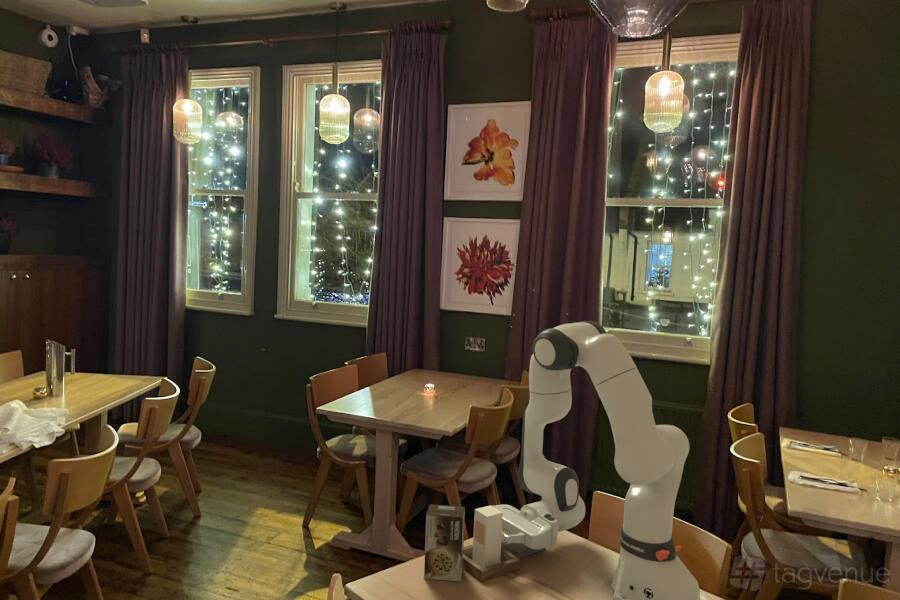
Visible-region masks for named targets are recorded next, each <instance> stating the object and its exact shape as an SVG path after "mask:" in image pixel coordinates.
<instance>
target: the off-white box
mask: <svg viewBox="0 0 900 600" xmlns="http://www.w3.org/2000/svg"><path fill="white" fill-rule="evenodd" d="M493 506H494V505H486V506H483V507H478V508H475V509H474V520H473V536H472V538H473V541H472V545H473V553H472V557H471V560H472V561H474V562H475V563H476V564H478V565H479V566H481V567H482V568H486V567H489V566H492V565H495V564H498V563H501V559H500V556H501V539H502V533H503V531H502V521H503V512H501V511H499V510H498V509H496V508H494V507H493Z"/></svg>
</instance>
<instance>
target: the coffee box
mask: <svg viewBox="0 0 900 600" xmlns="http://www.w3.org/2000/svg"><path fill="white" fill-rule="evenodd" d="M427 508H428V509H427V511H426V513H425V514H426V515H425V544H424V565H423V566H424V570H423V579H424V580H427V579H428V580H436V581H437V580H438V581H447V582H449V581H450V582H462V578H463V577H462V576H463V569H464V568H463V547H464V541H465V539H464V537H465V516H466V514H465V513H466V507H465V506H460V505H459V506H456V505H445V504H432V503H430V504H429V505H428V507H427Z"/></svg>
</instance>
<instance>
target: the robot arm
mask: <svg viewBox="0 0 900 600" xmlns="http://www.w3.org/2000/svg"><path fill="white" fill-rule="evenodd" d="M575 367H581V368H583V369H584V370H585V371H586V372H587V373H588V376H589V377H590V380H591V382H592V384H593V387H594V388H595V391H596V392H597V394H598V397H599V399H600V401H601V403H602V405H603V408H604V410H605V412H606V414H607V416H608V420H609V422H610V426H611V427H610V428H611V431H612V435H613V441H614V447H615V451H614V452H615V453H614V459H613V462H614V467H615V469H616V472H617V474H618V475H619V477H620V478H621V479H622V480H623V481H625V482H626V483H628V484H630V485H629V489H628V490H627V492H626V495H625V499H624V510H623V522H622V523H623V524H622V527H621V528H620V537H619V545H620V552H619V558H618V562H617V566H616V570H615V573H614V576H613V579H612V580H611V589H612V591H613V600H702V599H701V591H700V586H699V582H698V581H697V579H696V578H695V577H694V575H693V573H692V572H690V571H689V569H688V568H687V566H686V565H685V564H684V562H683V561H682V560H681V559H680V558H679V556H678V552H679V551H681V550H682V548H681V547H682V545H681V544H679V545H676V544H675V541H674V536H673V535H672V533H673V523H674V522H673V521H674V512H675V506H676V499H677V495H678V492H679V488H680V485H681V481H682V475H683V471H684V466H685V462H686V460H687V458H688V455H689V452H690V442H689V441H690V440H689V438H688V437H687V435H686V434H685V432H684V431H683V430H682V429H680V428H679V427H677V426H674V425H671V424H656V421H655V417H654V413H653V398H652V394H651V393H650V391H649V389H648V387H647V384H646V383H645V381H644V379H643V377H642V376H641V373H640V372H639V369H638V368H637V365H636V363H635V362H634V360H633V358H632V356H631V355H630V353H629V352H628V350H627V349H626V347H625V346H624V344H623V343H622V342H621V340H620V339H619V338H618V337H617V336H615V335H614V334H611V333H607V331H606V329H605V328H604V326H602V325H601V324H600V323H598V322H596V321H592V320H581V321H579V322H571V323H564V324H560V325H558V326H557V325H556V326H555V327H551V328H547V329H545V330H543V331H542V332H540V333H539V334H537V336H536V337H535V338H534V340H533V343H532V354H531V357H530V360H529V372H528V386H529V387H528V388H529V400H528V404H527V406H525V408H524V412H523V416H522V429H521V450H520V451H521V452H520V461H519V466H518V469H517V479H518V484H519V486H520V488H521V489H522V490H524V491H525V492H527V493H530V494H534V495H538V496H541V500H540V501H535V502H532V503H528V504H525V505H522V507H521V508H520V510H519V509H518V508H516V507H514V506H512V505H510V504H507V503H506V504H496V505H492V506H493V507H494V508H496V509H498V510H499V511H501V512H503V521H502V532H504V534H506V533H507V534H506V535H504V541H505V542H506V543H507V544H510V543H523V544H525V545H526V546H528V547H529V548H531V549H535V550H539V549H543V548H545V549H546V548H548V547H553V546H556V545H557V543H558V535H559V534H558V533H560V532H564V531H566V530H569V529H572V528H574V527H576V526H578V525H579V524H580V523H581V522H582V521H583V520H584V518H585V516H586V505H585V502H584V500H583V499H582V497H581V496H580V482H579V478H578V475H577V473H576V471H575V470H574V469H573V468H572V467H569V466H568V467H567V466H565V465H563V464H560V463H556V462H553V461H550V460H548V459H546V457H545V455H544V454H543V445H544V429H545V427H546V426H547V424H551V423H555V422H556V421H557V422H558V421H560V420H561V419H563V418H565V417H566V416H567V415H568V413H569V412H570V410H571V408H572V402H573V401H572V399H573V398H572V396H573V393H572V383H571V371H572V370H573V369H574V368H575Z"/></svg>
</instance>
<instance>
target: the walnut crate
mask: <svg viewBox="0 0 900 600" xmlns="http://www.w3.org/2000/svg"><path fill="white" fill-rule="evenodd" d="M472 553H473V544H470V545H466V546H463V569H464V570H465V571H466V572H468V573H469V574H470V575H472V576H473V577H474V578H476V579H477V580H479V581H480V582H485V581H488V580H491V579H495V578H498V577H500V576H502V575H506V574H510V573H512V572H515V571H518V570H521V562H522V560H521V557H519V558H518V557H516V556H515V555H513V554H512V553H510V552H509V551H507V550H506V549H504V548H502V547H501V556H500V563H498V564H495V565H492V566H489V567H486V568H482V567H481V566H479V565H478V564H476V563H475V562H474V561H472ZM501 561H502V562H501Z"/></svg>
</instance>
